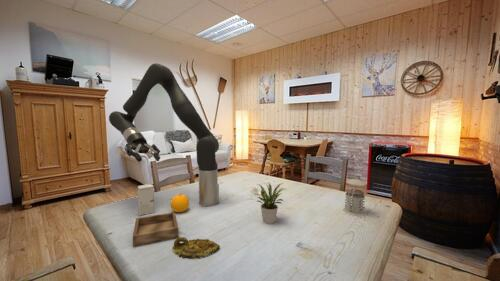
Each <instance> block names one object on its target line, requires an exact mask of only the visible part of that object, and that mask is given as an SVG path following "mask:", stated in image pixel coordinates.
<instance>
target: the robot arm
mask: <svg viewBox="0 0 500 281" xmlns="http://www.w3.org/2000/svg"><path fill="white" fill-rule="evenodd" d="M157 85H160V86H161V87H162V88H163V89H164V91H165V92H166V93H167V95H168V97H169V99H170V104H171V107H172V110H173V111H174V113H175V114H176V116H177V118H178V119H179V121H180V122H181V123H182V124H183V125H185V127H187V128H188V129H189V131H191V132H192V133H193V134H194V136H195V137H196V138H197V140H198V141H197V143H196V163H197V166H198V167H197V168H198V204H199V205H200V206H204V207H212V206H214V205H217V204H220V185H219V182H218V179H219V178H218V169H219V167H218V162H217V161H216V160H217V159H216V153H217V152H218V151H219V148H220V142H219V141H218V139H217V138H216V137H215V135H214V134H213V133H212V132H211V131H210V129H209V128H208V126H207V125H206V124H205V122H204V121H203V118H202V117H201V115H200V114H199V113H198V111H197V110H196V107H195V105H194V104H193V103H192V102H191V100H190V99H189V97H188V96H187V95H186V93H185V92H184V90H182V87H180V84H179V83H178V81H177V79H176V78H175V76H174V74H173V72H172V70H171V69H170V68H169V67H167V66H165V65H163V64H161V63H156V62H154V63H151V65H150V66H148V68H147V69H146V71H145V72H144V75H143V76H142V78H141V80H140V82H139V84H138V85H137V87H136V88H135V90H134V91H133V93H132V94H131V95H130V97H129V98H128V99H127V100H126V101H125V102H124V104H123V105H122V110H123V111H125V113H124V112H121V111H118V110H116V111H112V112H111V113H110V114H109V116H108V120H109V123H110V124H111V126H112V127H114V128H115V129H116V130H117V131H118V132H120V134H121V135H122V136H123V138H124V140H125V142H126V143H125V146H124V148H123V149H124V150H125V153H126V155H127V156H128V157H133V158H135V160H136V161H137V162H138V163H142V160H143V157H142V156H141V154H146V155H148V156H152V157H153V158H154V159H155V162H159V161H160V159H161V156H160V152H161V150H160V149H159V148H158V146H156V144H154V143H153V144H152V145H151V144H150V145H149V144H148V142H147V139H146V138H145V137H144V134H143V133H142V132H141V130H139V129H138V128H137V127H136V125H135V124H134V121H135V118H136V116H137V114H138V113H139V111H141V110H142V108H143V107H144V106H145V104H146V102H147V99H148V96H149V93H150V92H151V90H152V89H153V88H154V87H155V86H157Z"/></svg>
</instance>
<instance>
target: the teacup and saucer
mask: <svg viewBox="0 0 500 281" xmlns="http://www.w3.org/2000/svg"><path fill="white" fill-rule="evenodd" d="M256 189H257V190H256ZM259 191H260V192H259ZM250 192H253V193H252V195H253V194H254V195H253V196H254V198H256V197H255V196H259V195H261V190H259V188H258V186H254V187H251V188H250ZM258 194H259V195H258ZM261 196H262V195H261Z"/></svg>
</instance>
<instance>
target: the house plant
mask: <svg viewBox="0 0 500 281" xmlns="http://www.w3.org/2000/svg"><path fill="white" fill-rule="evenodd" d="M264 184H265V185H266V186H267V190H268V193H267V191H266V189H265V188H264V187H263V186H262V185H261V184H259V183H258V186H259V187H260V190H258V192H260V191H261V196H258V195H255V196H256V197H255V198H258V199H260V200H256V202H257V203H261V205H260V210H261V217H262V222H263V223H265V224H268V225H269V224H274V223H275V222H276V219H277V214H278V210H279V209H278V207H279V205H278V204H281V205H283V204H282V202H284V200H283V199H282V198H279V199H278V197H279V196H280V195H282V193H283V191H284V190H286V188H284V187H281V188H280V189H279V187H280V186H281V185H282V184H284V183H283V182H282V183H279V184H277V186H276V187H275V188H274V189H273V188H272V184H271V182H269V181H268V182H267V183H266V182H264ZM256 190H257V189H256ZM272 190H273V191H272ZM281 192H282V193H281ZM257 196H258V197H257ZM281 201H282V202H281Z"/></svg>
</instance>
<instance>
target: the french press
mask: <svg viewBox="0 0 500 281" xmlns="http://www.w3.org/2000/svg"><path fill="white" fill-rule="evenodd" d="M354 161H355V162H360V159H359V158H355V159H354ZM357 174H358V168H356V173H355V178H350V179H348V180H346V181H345V183H346V184H347V185H350V186H352V187H355V188H352V187H349V188H348V189H347V190H346V193H345V199H344V200H345V202H344V203H345V205H344V208H343V209H342V212H343V211H344V212H345V214H346V215H348V214H349V215H348V216H351V215H352V217H355V216H357V217H356V218H363V217H362V216H364V217H365V215H366V216H367V213H366V212H365V209H364V208H365V200H366V197H365V192H364V191H362V189H361V190H360V189H357V187H364V186H366V185H367V184H366V182H364V181H362V180H361V179H358V177H357ZM344 212H343V213H344Z"/></svg>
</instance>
